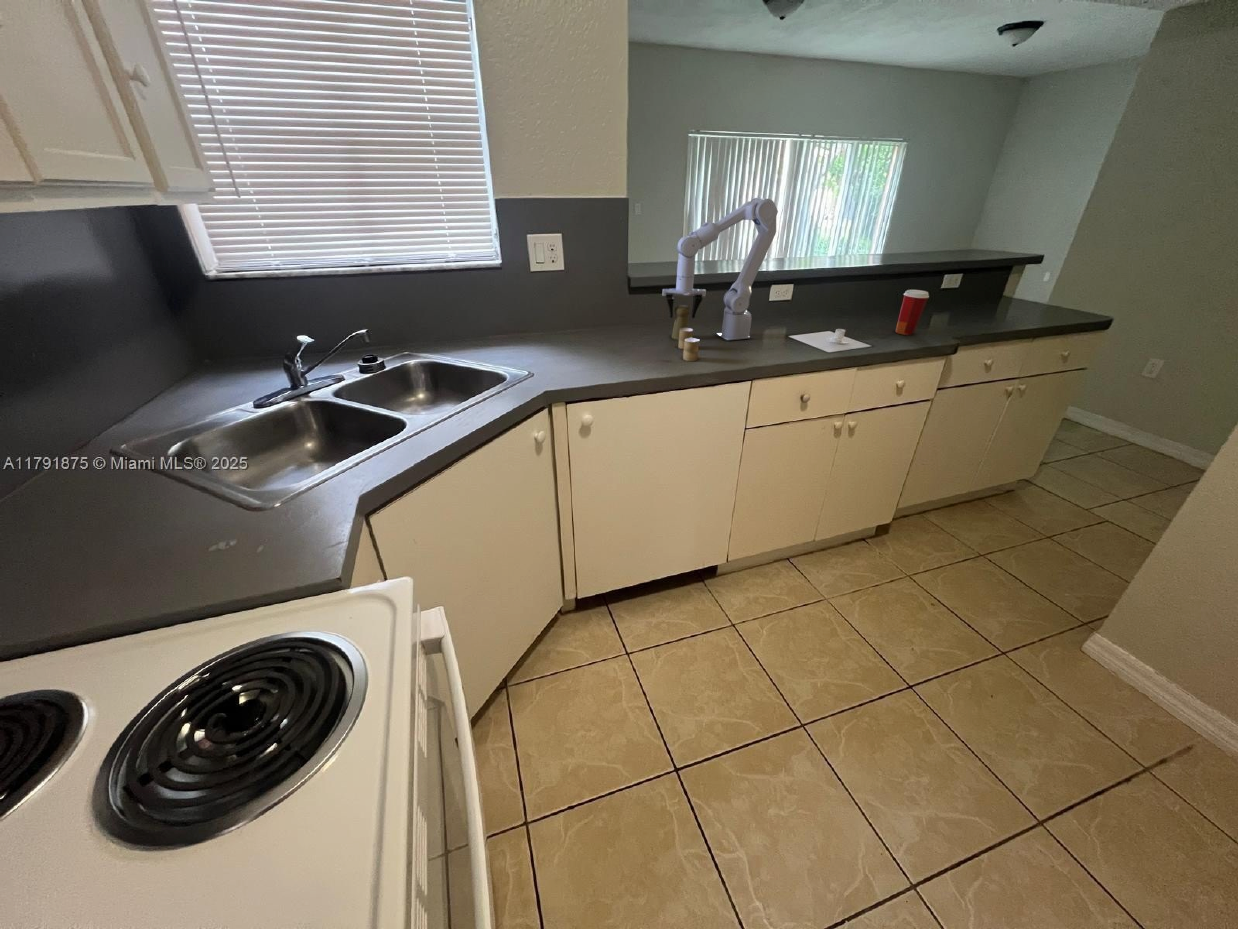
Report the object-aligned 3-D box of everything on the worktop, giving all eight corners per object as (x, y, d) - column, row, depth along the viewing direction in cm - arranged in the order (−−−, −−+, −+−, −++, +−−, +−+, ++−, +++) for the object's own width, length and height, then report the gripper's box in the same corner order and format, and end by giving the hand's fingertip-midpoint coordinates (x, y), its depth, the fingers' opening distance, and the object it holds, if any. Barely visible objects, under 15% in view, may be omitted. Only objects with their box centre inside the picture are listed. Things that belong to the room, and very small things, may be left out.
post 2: (692, 356, 155) (694, 337, 152) (699, 360, 151) (701, 341, 148) (680, 357, 153) (682, 338, 150) (687, 361, 150) (688, 342, 147)
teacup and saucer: (836, 346, 167) (839, 334, 165) (819, 339, 173) (822, 328, 171) (855, 343, 170) (858, 331, 168) (837, 337, 176) (840, 326, 174)
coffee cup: (917, 332, 185) (931, 291, 177) (915, 337, 179) (929, 294, 171) (893, 328, 189) (905, 288, 181) (890, 333, 183) (903, 291, 175)
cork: (688, 335, 175) (691, 304, 169) (688, 340, 170) (691, 308, 164) (671, 334, 175) (673, 303, 170) (671, 339, 170) (673, 307, 164)
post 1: (687, 344, 165) (689, 327, 162) (693, 348, 161) (695, 330, 158) (675, 346, 163) (677, 328, 160) (681, 350, 160) (683, 331, 157)
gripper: (704, 274, 165) (700, 314, 172) (662, 273, 165) (660, 314, 172) (708, 277, 159) (704, 319, 166) (664, 277, 159) (662, 319, 166)
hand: (682, 317), depth 169 cm, fingers open, 7 cm apart
